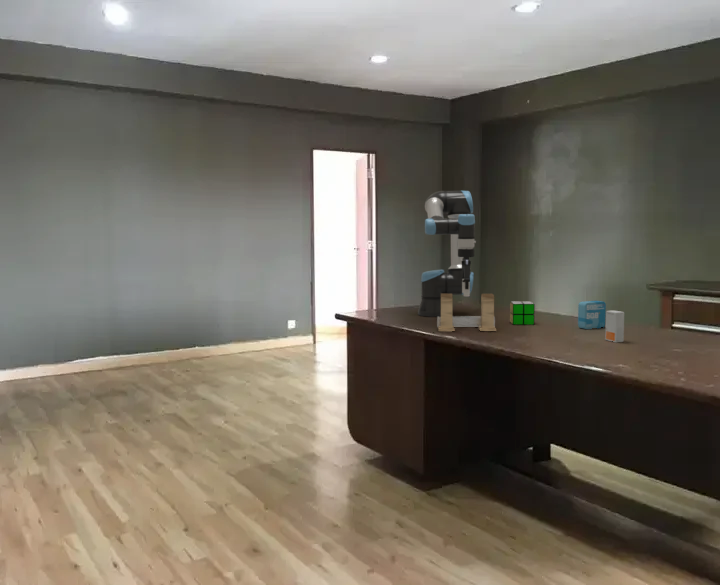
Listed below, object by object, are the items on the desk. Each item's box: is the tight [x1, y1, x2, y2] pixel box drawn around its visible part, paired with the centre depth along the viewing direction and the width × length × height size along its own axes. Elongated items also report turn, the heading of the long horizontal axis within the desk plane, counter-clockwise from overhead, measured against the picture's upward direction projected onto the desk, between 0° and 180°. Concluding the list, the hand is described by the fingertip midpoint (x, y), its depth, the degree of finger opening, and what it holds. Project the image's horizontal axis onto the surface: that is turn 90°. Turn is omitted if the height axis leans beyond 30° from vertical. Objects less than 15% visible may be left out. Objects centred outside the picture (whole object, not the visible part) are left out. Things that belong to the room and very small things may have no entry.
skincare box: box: [604, 309, 625, 343], centre depth 268 cm, size 6×4×12 cm
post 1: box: [437, 294, 456, 332], centre depth 299 cm, size 8×7×16 cm
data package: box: [577, 300, 607, 330], centre depth 302 cm, size 12×4×12 cm, turn 114°
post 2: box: [478, 293, 497, 332], centre depth 298 cm, size 8×7×16 cm
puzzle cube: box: [509, 300, 536, 326], centre depth 318 cm, size 10×10×10 cm
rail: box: [436, 315, 496, 328], centre depth 309 cm, size 4×26×5 cm, turn 84°
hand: (465, 294), depth 308 cm, fingers open, 13 cm apart
